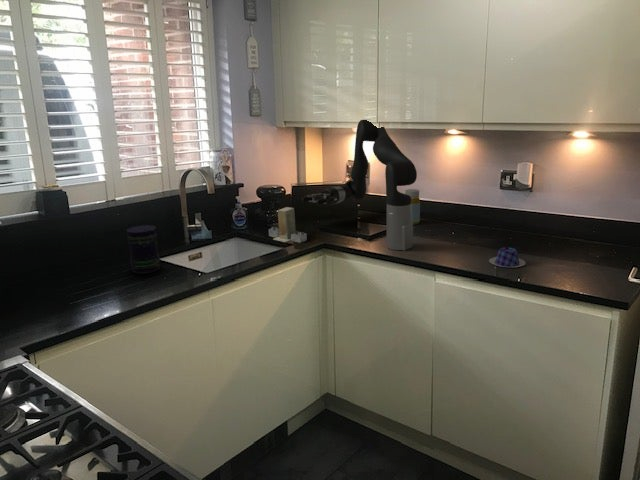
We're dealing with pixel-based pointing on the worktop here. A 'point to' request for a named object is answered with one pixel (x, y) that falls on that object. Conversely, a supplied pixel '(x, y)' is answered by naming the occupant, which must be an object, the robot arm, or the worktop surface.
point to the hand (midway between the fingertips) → (309, 201)
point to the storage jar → (143, 248)
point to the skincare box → (286, 222)
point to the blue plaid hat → (507, 258)
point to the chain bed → (295, 235)
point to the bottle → (414, 205)
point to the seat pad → (282, 239)
